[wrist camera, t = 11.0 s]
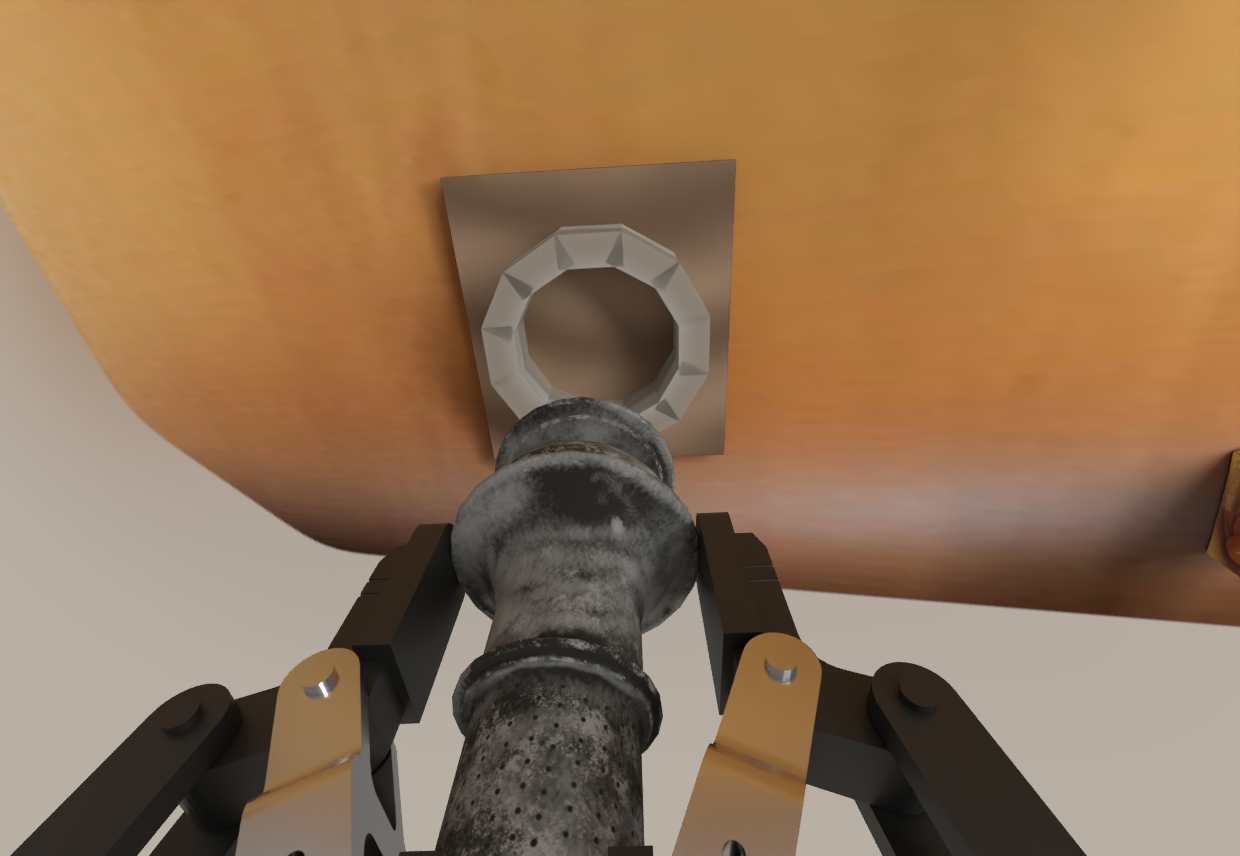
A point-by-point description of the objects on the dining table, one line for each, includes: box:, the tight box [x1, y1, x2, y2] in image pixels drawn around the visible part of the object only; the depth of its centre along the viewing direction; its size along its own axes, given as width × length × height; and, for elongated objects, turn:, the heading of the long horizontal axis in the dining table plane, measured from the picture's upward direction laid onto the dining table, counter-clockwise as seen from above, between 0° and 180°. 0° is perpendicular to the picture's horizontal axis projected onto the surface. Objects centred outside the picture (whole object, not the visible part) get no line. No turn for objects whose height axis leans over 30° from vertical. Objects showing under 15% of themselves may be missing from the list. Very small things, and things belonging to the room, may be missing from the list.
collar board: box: [440, 160, 736, 461], centre depth 28 cm, size 16×14×4 cm
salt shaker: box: [435, 397, 699, 856], centre depth 10 cm, size 6×6×12 cm
